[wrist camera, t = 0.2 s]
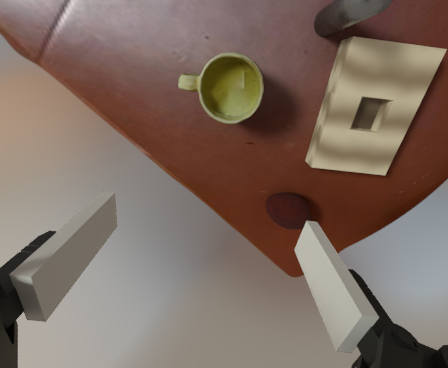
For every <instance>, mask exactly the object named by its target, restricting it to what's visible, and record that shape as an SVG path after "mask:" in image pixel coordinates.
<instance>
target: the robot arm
mask: <svg viewBox="0 0 448 368" xmlns="http://www.w3.org/2000/svg"><path fill="white" fill-rule="evenodd" d="M116 227H117V215H116V202H115V193H114V192H107V191H102V192H101V193H100V194H99V195H98V196H97V197H96V198H95V199H93V200H92V201H91V202H90V203H89V204H88V205H87V206H86V207H85V208H83V209H82V210H81V211H80V212H79V213H78V214H77V215H75V216H74V217H73V218H72V219H71V220H70V221H69V222H68V223H67V224H65V225H64V226H63V227H62V228H61V229H60V230H59V231H57V232H56V231H48V232H46V233H44V234H42V235H40V236H38V237H37V238H36V239H35V240H34V241H32V242H31V243H30V244H29V245H28V246H26V247H25V248H24V249H22V250H21V252H19V253H18V254H16V255H15V256H14V257H13V258H12V259H10V260H9V261H8V262H7V263H6V264H4V265H3V266H2V267H1V268H0V368H18V365H17V364H18V361H17V360H18V358H17V357H18V354H17V353H18V328H17V327H18V325H17V322H16V319H17V318H18V317H19V316H20V315H21V314H22V313H23V311H24V313H25V316H26V318H27V320H35V321H44V322H45V321H47V319H48V318H49V316H50V315H51V314H52V313H53V311H54V310H55V308H56V307H57V306H58V304H59V303H60V302H61V301H62V299H63V298H64V296H65V295H66V294H67V293H68V291H69V290H70V289H71V287H72V286H73V284H74V283H75V282H76V281H77V279H78V278H79V277H80V275H81V274H82V272H83V271H84V270H85V269H86V267H87V266H88V265H89V263H90V262H91V260H92V259H93V258H94V257H95V255H96V254H97V253H98V251H99V250H100V249H101V247H102V245H104V243H105V242H106V241H107V239H108V238H109V237H110V235H111V234H112V232H113V231H114V230H115V228H116ZM295 253H296V255H297V258H298V260H299V263H300V265H301V268H302V270H303V272H304V275H305V277H306V280H307V282H308V285H309V287H310V290H311V292H312V294H313V297H314V299H315V302H316V304H317V307H318V309H319V311H320V314H321V316H322V319H323V321H324V324H325V326H326V329H327V331H328V333H329V336H330V338H331V341H332V343H333V346H334V348H335V351H337V352H347V353H352V351H353V350H354V349H355V348H356V346H357V347H358V349H359V351H360V352H361V355H360V356H359V358H358V359H357V360H356V361H355V362H354V363H353V365H352V368H355V367H356V366H357V367H356V368H448V345H443V346H442V347H441V348H440V349H439V350H435V349H433V348H430V347H428V346H425V345H423V344H420V343H418V341H417V340H416V339H415V338H414V337H413V336H412V334H411V333H410V332H408V331H407V330H406V329H404V328H403V327H401V326H399V325H397V324H394V323H393V322H392V321H391V319H390V318H389V316H388V315H387V313H386V312H385V310H384V309H383V308H382V306H381V305H380V303H379V302H378V300H377V299H376V298H375V296H374V295H373V293H372V292H371V290H370V289H369V288H368V286H367V285H366V283H365V282H364V280H363V279H362V278H361V277H360V276H359V275H358V274H357V273H356V272H355V271H354V270H351V269H347V267H346V266H345V264H344V263H343V261H342V259H341V258H340V256H339V255H338V253H337V252H336V250H335V249H334V247H333V246H332V244H331V243H330V241H329V240H328V238H327V237H326V235H325V233H324V232H323V230H322V229H321V227H320V226H319V224H318V223H317V222H314V221H306V223H305V225H304V228H303V230H302V233H301V235H300V238H299V240H298V242H297V245H296V247H295Z"/></svg>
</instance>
